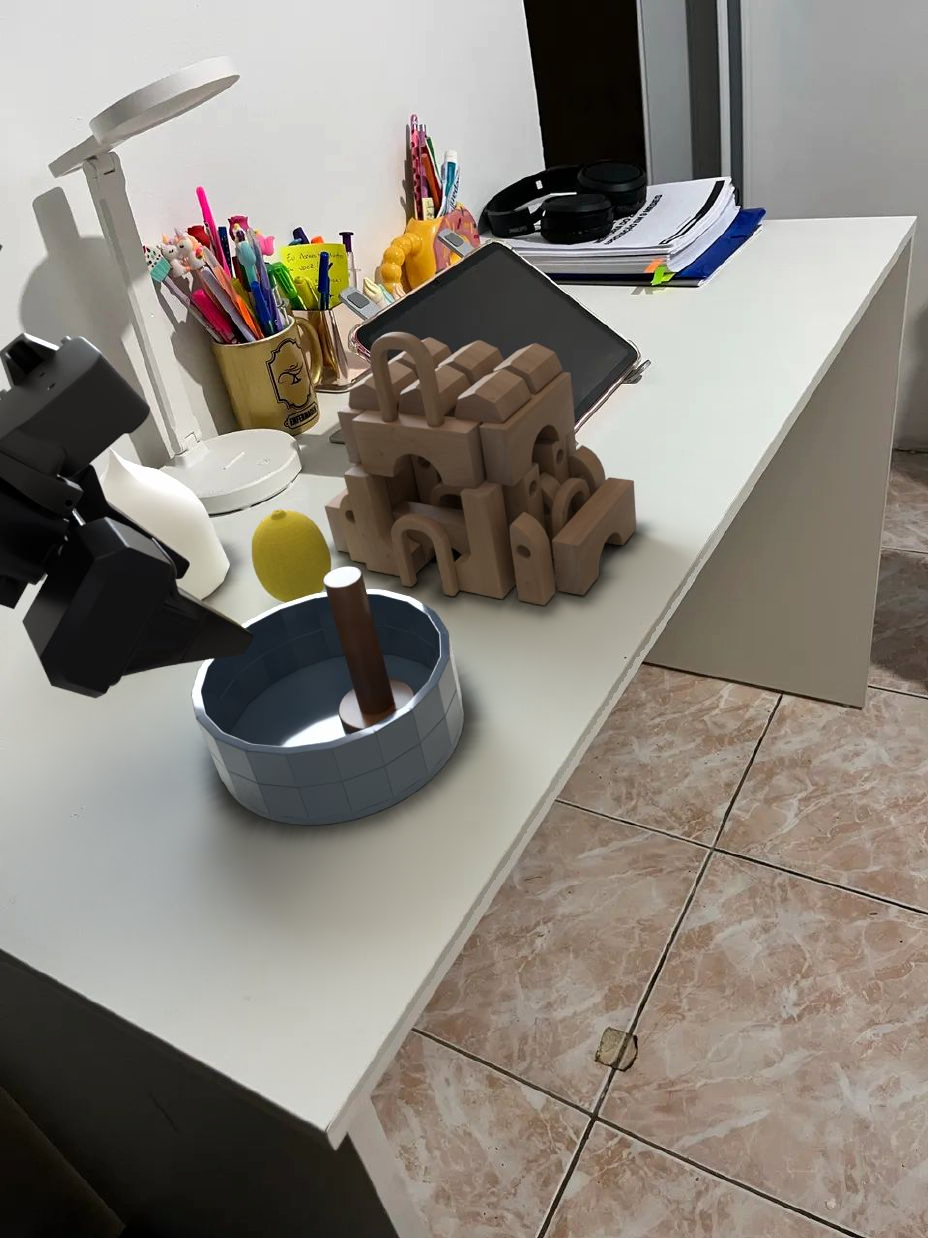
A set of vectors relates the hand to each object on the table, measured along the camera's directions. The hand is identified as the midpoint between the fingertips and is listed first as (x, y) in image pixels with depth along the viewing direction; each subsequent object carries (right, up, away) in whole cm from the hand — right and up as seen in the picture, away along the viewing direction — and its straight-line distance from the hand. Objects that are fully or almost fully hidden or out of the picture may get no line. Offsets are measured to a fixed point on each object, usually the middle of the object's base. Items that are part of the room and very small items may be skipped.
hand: (214, 604), depth 48 cm
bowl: (+5, -8, +10) cm, 14 cm away
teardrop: (-12, +2, +29) cm, 31 cm away
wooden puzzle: (+14, +5, +26) cm, 30 cm away
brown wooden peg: (+7, -6, +10) cm, 14 cm away
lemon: (+1, 0, +23) cm, 23 cm away
